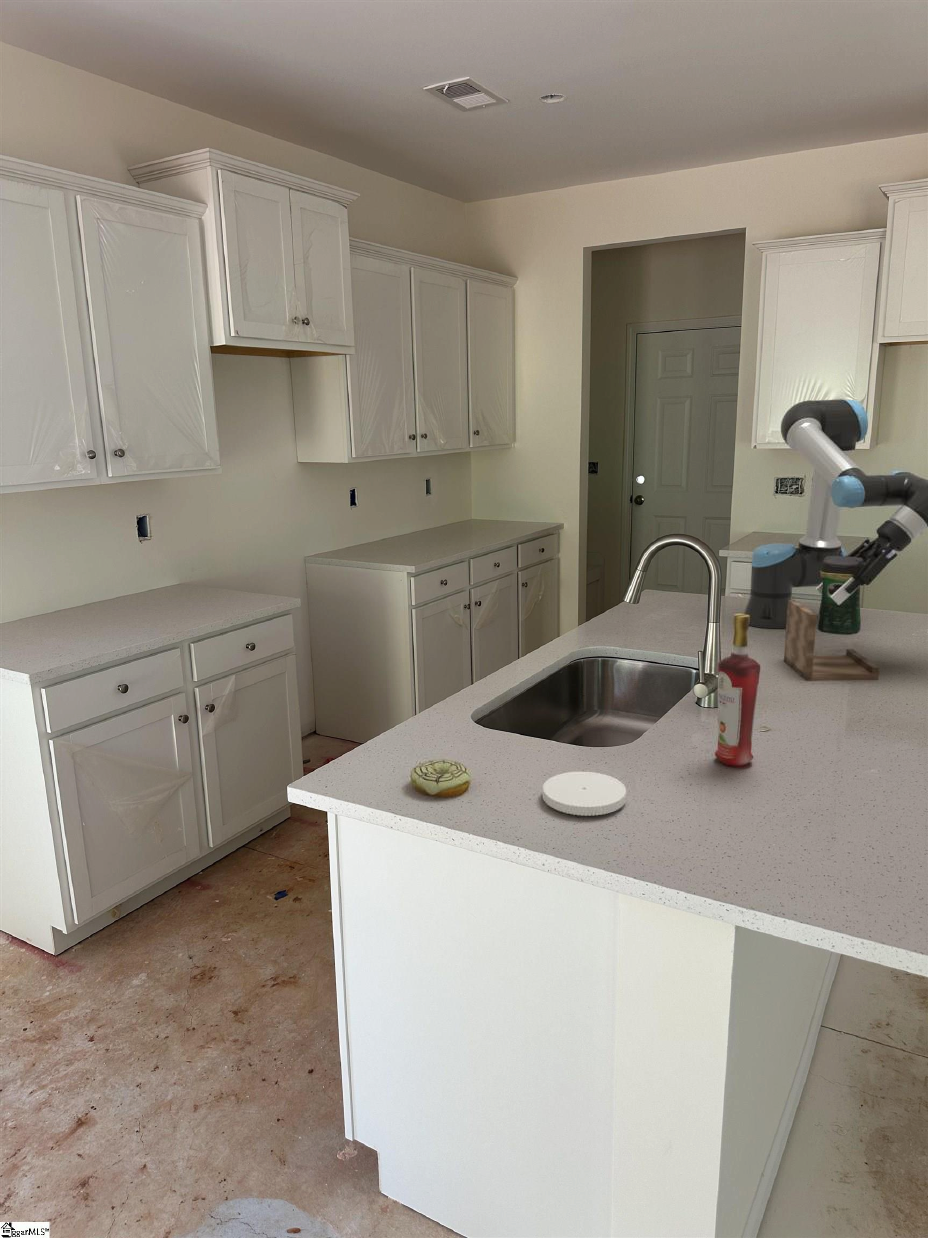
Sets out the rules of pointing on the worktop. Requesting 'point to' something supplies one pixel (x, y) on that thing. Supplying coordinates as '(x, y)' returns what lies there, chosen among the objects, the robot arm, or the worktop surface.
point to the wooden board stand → (819, 666)
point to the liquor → (737, 699)
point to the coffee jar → (848, 612)
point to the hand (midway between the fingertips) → (827, 596)
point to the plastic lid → (584, 793)
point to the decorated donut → (441, 778)
